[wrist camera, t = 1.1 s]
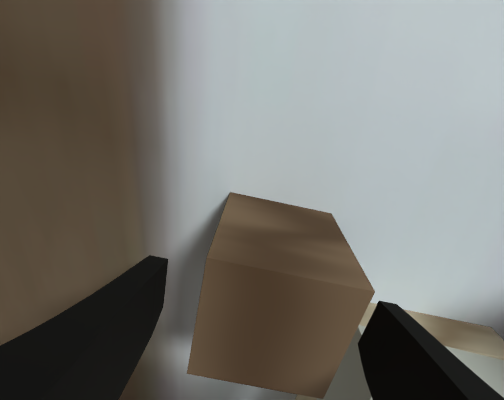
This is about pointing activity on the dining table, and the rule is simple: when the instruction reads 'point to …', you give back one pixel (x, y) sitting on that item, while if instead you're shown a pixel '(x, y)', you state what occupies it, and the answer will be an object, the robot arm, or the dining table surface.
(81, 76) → the dining table surface
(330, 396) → the slab top
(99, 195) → the dining table surface
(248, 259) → the walnut block
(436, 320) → the slab bottom
